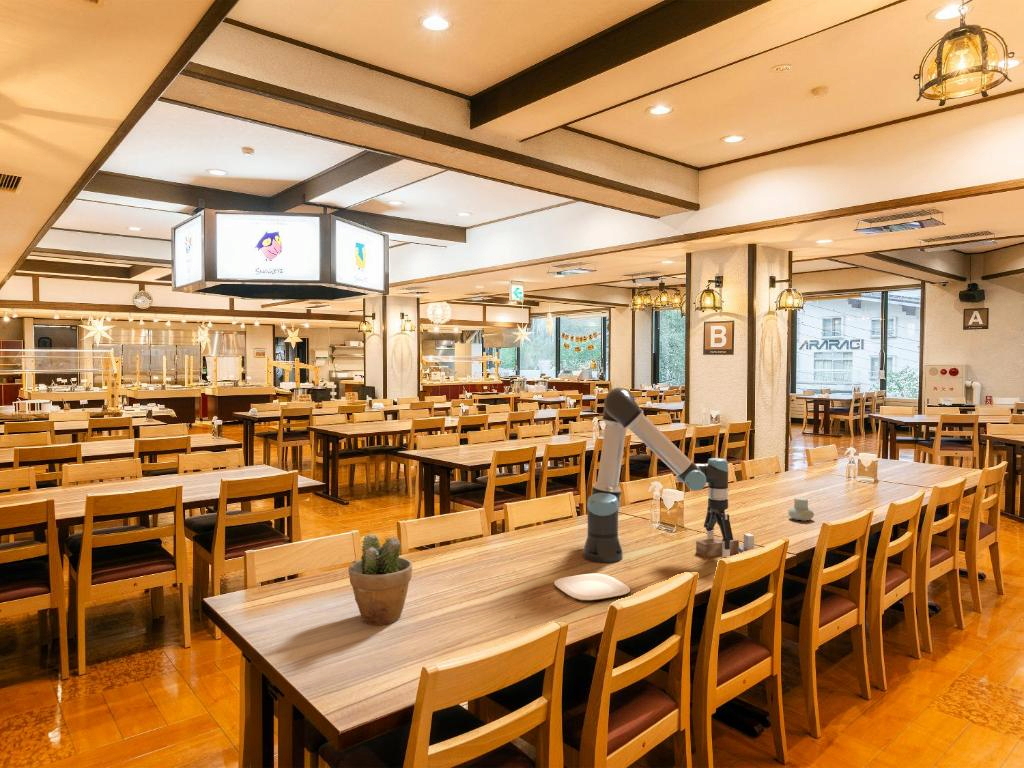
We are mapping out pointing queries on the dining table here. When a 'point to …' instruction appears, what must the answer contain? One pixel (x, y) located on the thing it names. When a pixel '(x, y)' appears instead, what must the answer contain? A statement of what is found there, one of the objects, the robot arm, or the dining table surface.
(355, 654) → the dining table surface
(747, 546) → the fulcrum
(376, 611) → the potted plant
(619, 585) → the plate
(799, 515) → the air freshener
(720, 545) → the beam
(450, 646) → the dining table surface
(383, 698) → the dining table surface
